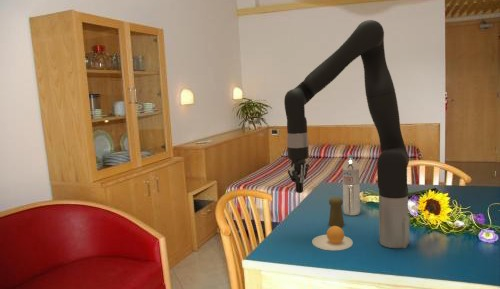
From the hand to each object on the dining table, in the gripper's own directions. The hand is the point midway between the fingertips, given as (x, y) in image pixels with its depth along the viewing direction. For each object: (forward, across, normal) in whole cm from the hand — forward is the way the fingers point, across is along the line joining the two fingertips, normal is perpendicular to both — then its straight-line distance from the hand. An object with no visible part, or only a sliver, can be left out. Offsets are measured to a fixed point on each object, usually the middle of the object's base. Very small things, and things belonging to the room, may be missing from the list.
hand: (299, 192), depth 146 cm
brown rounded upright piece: (+17, +17, -7) cm, 25 cm away
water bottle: (+17, +32, -8) cm, 37 cm away
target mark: (+17, 0, -12) cm, 21 cm away
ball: (+14, 0, -13) cm, 19 cm away
